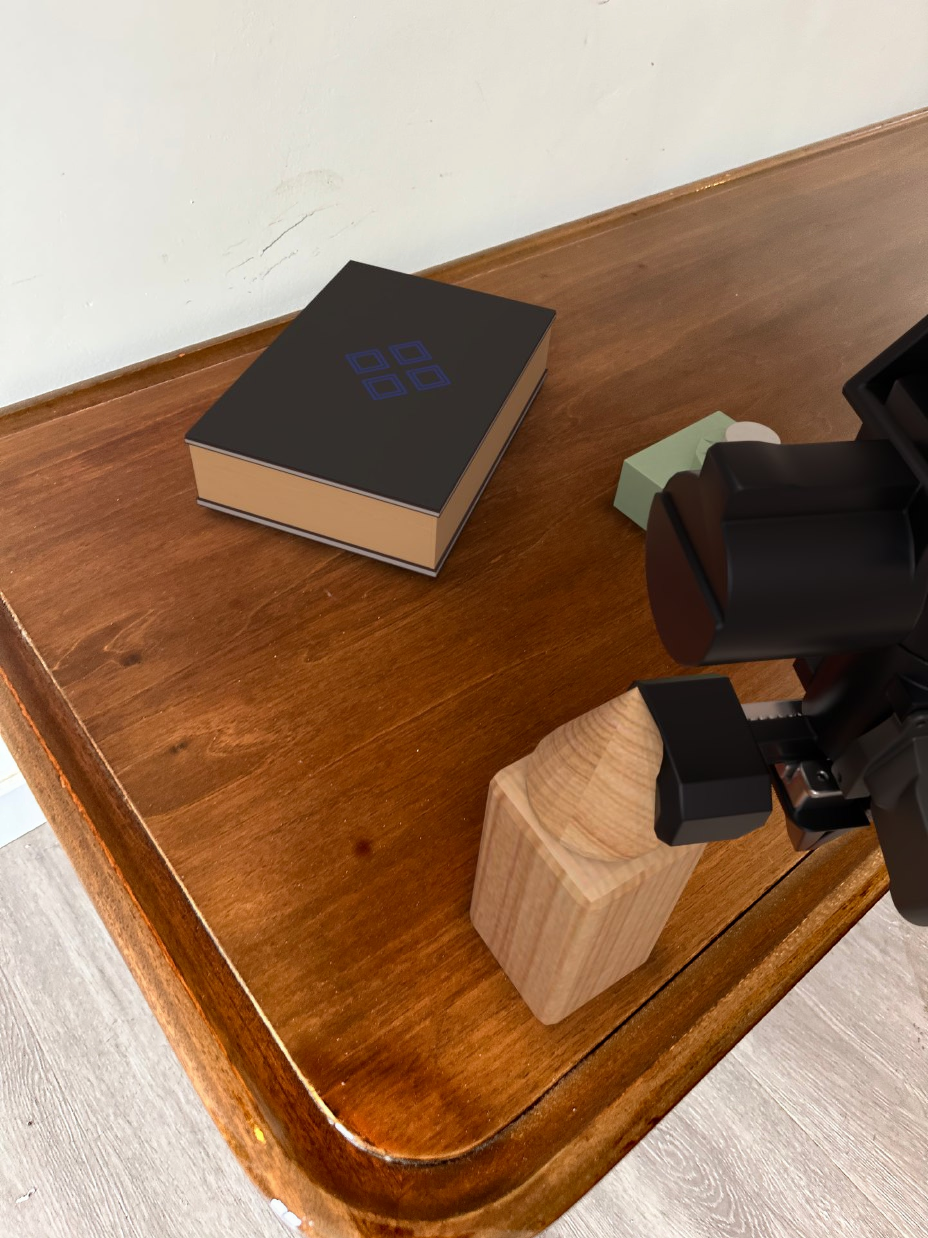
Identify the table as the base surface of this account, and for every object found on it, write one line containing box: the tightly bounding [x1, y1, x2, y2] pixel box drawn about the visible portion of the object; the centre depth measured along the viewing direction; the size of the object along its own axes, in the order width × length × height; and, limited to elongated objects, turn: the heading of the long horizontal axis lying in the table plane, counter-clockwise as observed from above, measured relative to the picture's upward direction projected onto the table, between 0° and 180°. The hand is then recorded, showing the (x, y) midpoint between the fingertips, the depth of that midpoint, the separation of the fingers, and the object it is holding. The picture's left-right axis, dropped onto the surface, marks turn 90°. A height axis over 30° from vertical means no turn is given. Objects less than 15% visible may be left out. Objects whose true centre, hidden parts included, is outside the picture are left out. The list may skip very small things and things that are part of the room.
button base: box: [613, 410, 738, 532], centre depth 65 cm, size 12×10×6 cm
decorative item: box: [469, 687, 709, 1026], centre depth 39 cm, size 7×7×20 cm
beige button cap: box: [722, 421, 782, 444], centre depth 62 cm, size 4×4×2 cm
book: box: [183, 259, 557, 579], centre depth 69 cm, size 17×25×7 cm
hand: (798, 841), depth 43 cm, fingers closed
